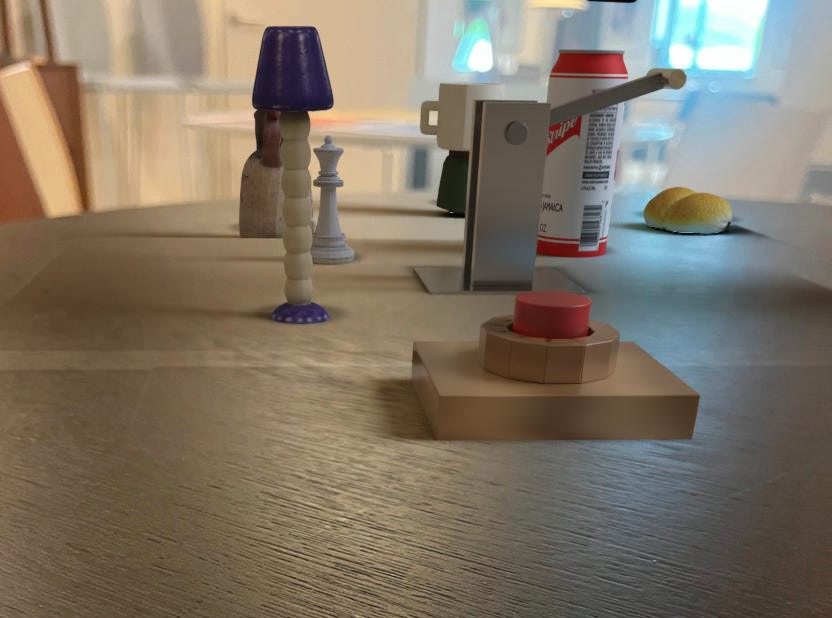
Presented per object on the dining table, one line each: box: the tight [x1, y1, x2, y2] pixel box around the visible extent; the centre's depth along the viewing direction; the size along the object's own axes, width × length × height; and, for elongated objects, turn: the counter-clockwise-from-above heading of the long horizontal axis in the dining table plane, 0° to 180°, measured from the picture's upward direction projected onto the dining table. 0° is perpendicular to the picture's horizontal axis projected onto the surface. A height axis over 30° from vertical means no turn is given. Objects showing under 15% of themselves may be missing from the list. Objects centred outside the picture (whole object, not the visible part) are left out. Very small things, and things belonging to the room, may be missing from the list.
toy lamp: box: [251, 25, 335, 325], centre depth 60 cm, size 5×5×17 cm
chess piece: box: [310, 134, 356, 265], centre depth 80 cm, size 4×4×10 cm
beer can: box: [536, 49, 629, 258], centre depth 84 cm, size 6×6×16 cm
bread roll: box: [643, 186, 733, 233], centre depth 107 cm, size 8×9×4 cm
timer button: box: [512, 291, 592, 339], centre depth 49 cm, size 4×4×2 cm
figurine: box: [238, 109, 317, 240], centre depth 93 cm, size 7×7×12 cm
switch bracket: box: [414, 99, 586, 296], centre depth 73 cm, size 11×9×13 cm
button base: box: [410, 314, 701, 442], centre depth 50 cm, size 12×10×4 cm
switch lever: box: [549, 67, 687, 126], centre depth 70 cm, size 13×5×2 cm, turn 94°
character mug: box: [419, 82, 506, 213], centre depth 112 cm, size 11×7×13 cm, turn 76°
